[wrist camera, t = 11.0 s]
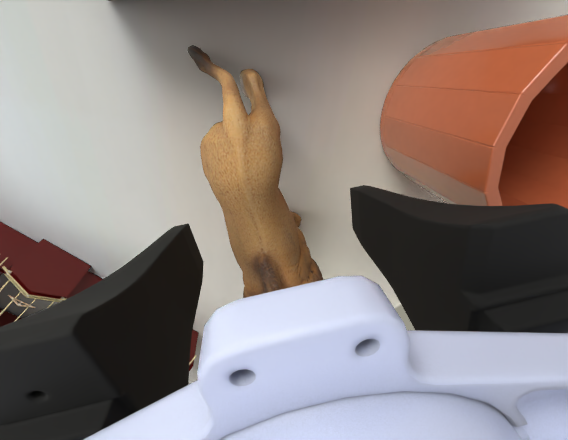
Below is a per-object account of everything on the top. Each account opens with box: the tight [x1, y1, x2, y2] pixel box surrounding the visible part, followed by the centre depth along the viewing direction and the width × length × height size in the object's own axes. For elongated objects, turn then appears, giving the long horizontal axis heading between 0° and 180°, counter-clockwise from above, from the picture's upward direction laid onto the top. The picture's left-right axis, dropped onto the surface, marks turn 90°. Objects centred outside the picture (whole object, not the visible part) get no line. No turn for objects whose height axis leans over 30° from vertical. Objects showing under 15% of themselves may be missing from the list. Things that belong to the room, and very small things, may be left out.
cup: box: [380, 14, 568, 209], centre depth 13 cm, size 8×8×8 cm
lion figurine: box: [187, 45, 323, 298], centre depth 13 cm, size 15×5×9 cm, turn 23°
